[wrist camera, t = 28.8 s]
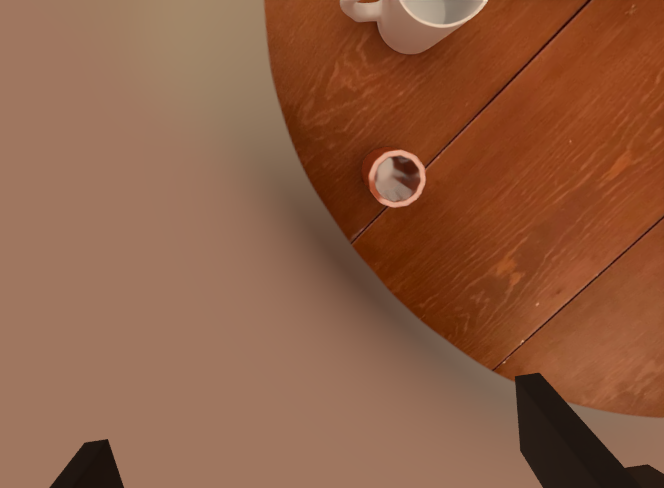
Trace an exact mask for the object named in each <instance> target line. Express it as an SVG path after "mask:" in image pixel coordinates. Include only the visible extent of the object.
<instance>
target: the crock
mask: <svg viewBox="0 0 664 488" xmlns="http://www.w3.org/2000/svg"><path fill="white" fill-rule="evenodd" d="M361 175H362V180H363V183H364V184H365V185H366V187H367V188H368V189H369V190H370V192H371V193H372V194H373V196H374V197H375V198H376V199H377V201H378V202H379V203H381V204H383V205H386V206H389V207H391V208H398V207H404V206H408V205H410V204H411V203H412V202H414V201H415V200H416V199H417V198H419V197H420V196H421V194H422V191H423V189H424V186H425V184H426V174H425V167H424V165H423V164H422V163H421V161H420V160H419V159H418V157H417V156H416V155H415V154H412V153H410V152H407V151H405V150H402V149H398V148H393V147H381V148H377V149H375V150H373V151H372V152H370V153H369V154H368V155H367V156H366V157H365V159H364V161H363V164H362V168H361Z"/></svg>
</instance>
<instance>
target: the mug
mask: <svg viewBox="0 0 664 488" xmlns="http://www.w3.org/2000/svg"><path fill="white" fill-rule="evenodd" d="M357 1H359V0H340V6H341V9H342V11H343V12H344V13H345V14H346V15H348V16H349V17H350V18H352V19H353V20H354V21H356V22H367V21H377V25H378V29H379V32H380V35H381V37H382V38H383V40H384V41H385V43H386V44H387V45H388V46H389V47H390V48H392V49H393V50H395V51H397V52H399V53H403V54H417V53H421V52H423V51H425V50H427V49H429V48H430V47H432V46H433V45H435V44H436V43H438V42H439V41H440V40H442V39H443V38H445V37H446V36H448V35H449V34H450V33H452V32H453V31H455V30H456V29H458V28H459V27H460V26H462V25H463V24H464V23H465V22H467V21H468V20H470V19H471V18H472V17H474V16H475V15H476V14H477V13H478V12H479V11H480V10H481V9H482V8H483V7H484V5H485V4H486V3H487V1H488V0H379V1H378V2H374V3H357Z"/></svg>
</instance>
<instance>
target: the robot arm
mask: <svg viewBox="0 0 664 488" xmlns="http://www.w3.org/2000/svg"><path fill="white" fill-rule="evenodd" d="M515 384H516V397H517V411H518V423H519V438H520V451H521V453H522V454H523V456H524V457H525V459H526V461H527V462H528V464H529V465H530V467H531V469H532V470H533V472H534V474H535V475H536V477H537V479H538V480H539V482H540V483H541V485H542V487H543V488H664V474H663V473H661V472H659V471H658V470H656V469H654V468H653V467H651V466H650V465H642V466H634V467H627V468H624V467H623V466H622V464H621V463H620V462H619V461H618V460H617V459H616V458H615V457H614V455H613V454H612V453H611V452H610V451H609V450H608V449H607V448H606V447H605V445H604V444H603V443H602V442H601V441H600V440H599V439H598V438H597V437H596V435H595V434H594V433H593V432H592V431H591V430H590V429H589V428H588V426H587V425H586V424H585V423H584V422H583V421H582V420H581V419H580V417H579V416H578V415H577V414H576V413H575V412H574V411H573V410H572V409H571V407H570V406H569V405H568V404H567V403H566V402H565V401H564V400H563V399H562V397H561V396H560V395H559V394H558V393H557V392H556V391H555V390H554V388H553V387H552V386H551V385H550V384H549V383H548V382H547V381H546V380H545V378H544V377H543V376H542V375H541V374H540V373H534V374H527V375H521V376H515ZM50 488H124V486H123V483H122V481H121V478H120V474H119V471H118V468H117V466H116V463H115V460H114V456H113V453H112V450H111V447H110V445H109V441H108V439H106V440H99V441H93V442H86V443H84V444H83V446H82V447H81V448H80V449H79V451H78V452H77V453H76V455H75V456H74V457H73V458H72V460H71V461H70V462H69V463H68V465H67V466H66V467H65V469H64V470H63V471H62V472H61V474H60V475H59V476H58V478H57V479H56V480H55V481H54V483H53V484H52V485H51V487H50Z"/></svg>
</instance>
